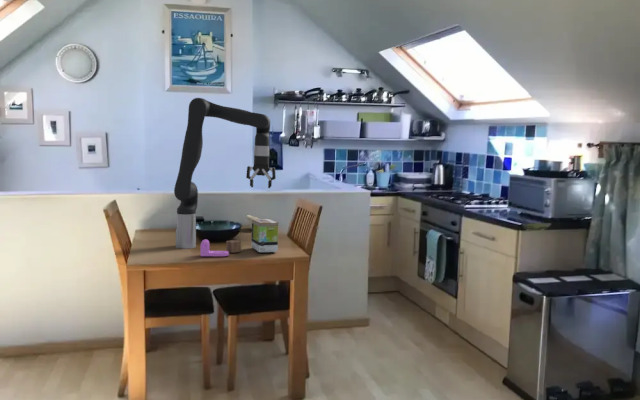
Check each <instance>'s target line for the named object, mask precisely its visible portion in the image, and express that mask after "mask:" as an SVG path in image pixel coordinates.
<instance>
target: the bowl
mask: <svg viewBox="0 0 640 400" xmlns="http://www.w3.org/2000/svg"><path fill="white" fill-rule="evenodd" d="M246 218H247V220H248V227H249V229H250V230H252V219H260V218H259V217H256V216H253V215H250V214H247V215H246Z"/></svg>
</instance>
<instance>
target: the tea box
mask: <svg viewBox="0 0 640 400" xmlns="http://www.w3.org/2000/svg"><path fill="white" fill-rule="evenodd" d="M278 243H279V222H278V221H276V220H273V219H270V218H259V219H252V229H251V244H250V245H251V248H252V249H254V251H257V252H258V253H275V252H278V246H279V244H278Z"/></svg>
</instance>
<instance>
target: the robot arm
mask: <svg viewBox="0 0 640 400" xmlns="http://www.w3.org/2000/svg"><path fill="white" fill-rule="evenodd" d="M187 115H188V116H187V126H186V130H185V136H184V140H183V144H182V151H181V157H180V158H181V159H180V164H179V170H178V174H177V178H176V181H175V183H174V184H175V185H174V188H173V189H174V190H173V192H174V196H175V198H176V199H177V200H178V201H180V204H179V206H178V207H177V209H176V229H175V249H193V248H196V247H197V218H196V217H197V213H196V212H197V208H198V201H199V199H198V198H199V190H198V186H197V184H195V182H193V181H192V178H193V174H194V172H195V169H196V168H197V166H198V164H199V162H200V160H201V157H202V150H203V145H204V144H203V143H204V141H203V138H204V137H203V125H204V121H205V118H216V119H222V120H225V121H228V122H231V123H235V124H238V125H244V126H250V127H254V128H255V129H256V130H255V136H254V149H253V166H249V165H248V166H247V167H246V176H245V177H246V179H248V180H249V187H250V188H254V178H255V177H256V176H263V177H266V178H267V180H268V181H267V188H268V189H271V187H272V184H273V183H272V182H273V180H276V167H270V129H271V119H270V117H269V116H268V115H267V114H262V113H259V112H252V111H249V110H245V109H240V108H237V107H231V106H230V107H229V106H223V105H220V104H218V103H217V104H216V103H214V102H212V101H209V100H207V99H205V98H202V97H194V98H193V99H191V101H190V102H189V104H188V114H187ZM252 170H253V174H252V175H251V171H252ZM269 171H270V172H271V173H272V174H271V175H272V176H271V175H270V174H269V173H268V172H269Z"/></svg>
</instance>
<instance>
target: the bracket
mask: <svg viewBox="0 0 640 400" xmlns="http://www.w3.org/2000/svg"><path fill="white" fill-rule="evenodd" d="M229 255H230V252H228V251H226V250H210V241H209V240H208V239H202V241H201V243H200V257H227V256H229Z"/></svg>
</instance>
